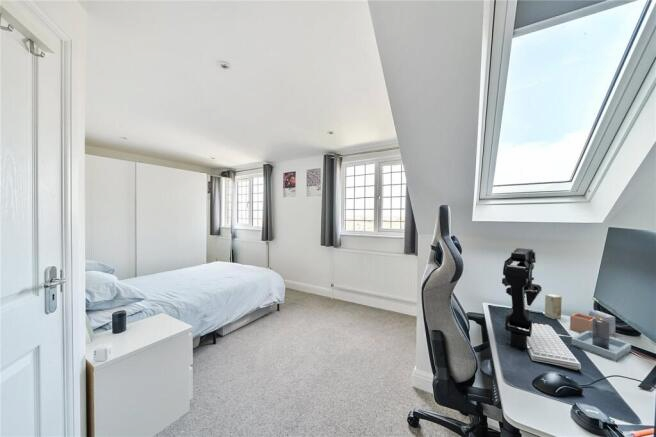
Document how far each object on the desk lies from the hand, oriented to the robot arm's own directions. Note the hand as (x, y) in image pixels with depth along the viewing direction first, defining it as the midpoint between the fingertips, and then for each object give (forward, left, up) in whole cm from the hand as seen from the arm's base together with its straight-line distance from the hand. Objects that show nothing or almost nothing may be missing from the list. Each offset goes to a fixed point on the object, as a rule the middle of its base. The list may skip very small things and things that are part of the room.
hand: (523, 307), depth 115 cm
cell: (+16, -21, -12) cm, 29 cm away
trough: (+16, -21, -13) cm, 29 cm away
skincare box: (+36, +3, -13) cm, 39 cm away
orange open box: (+30, -11, -13) cm, 34 cm away
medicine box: (+38, -15, -13) cm, 43 cm away
